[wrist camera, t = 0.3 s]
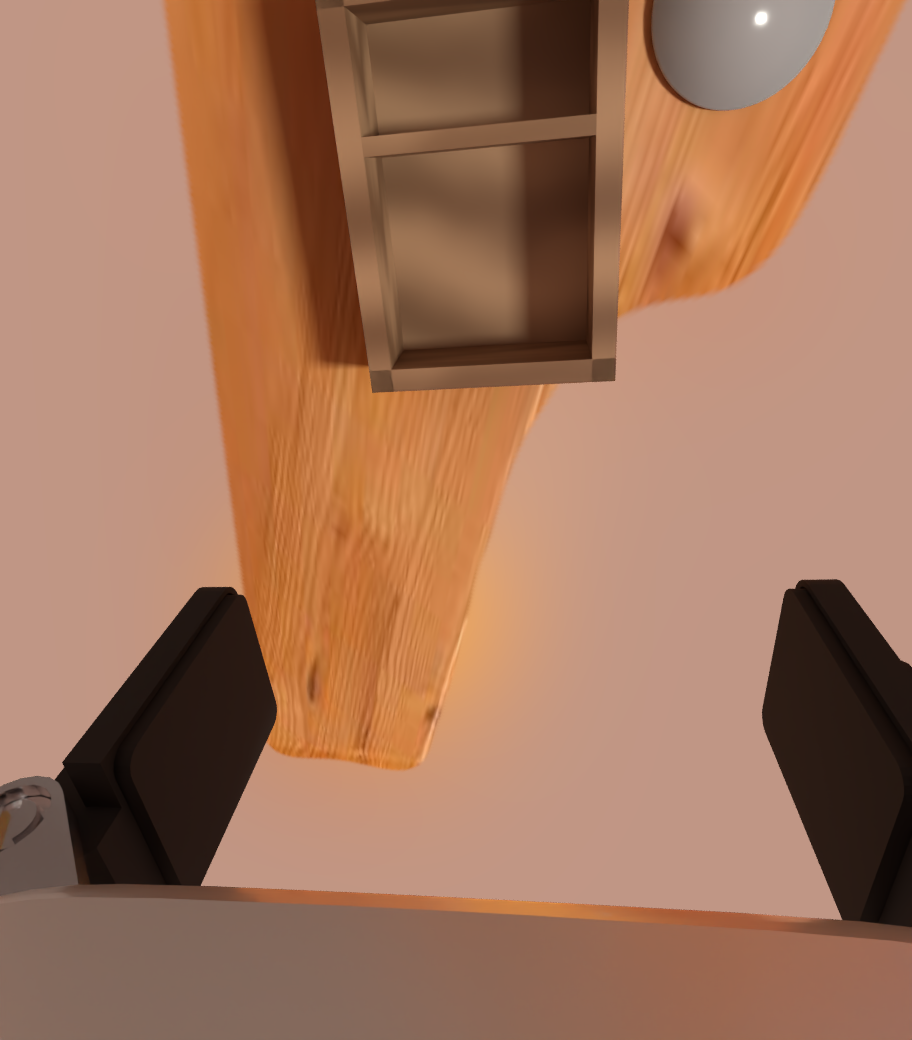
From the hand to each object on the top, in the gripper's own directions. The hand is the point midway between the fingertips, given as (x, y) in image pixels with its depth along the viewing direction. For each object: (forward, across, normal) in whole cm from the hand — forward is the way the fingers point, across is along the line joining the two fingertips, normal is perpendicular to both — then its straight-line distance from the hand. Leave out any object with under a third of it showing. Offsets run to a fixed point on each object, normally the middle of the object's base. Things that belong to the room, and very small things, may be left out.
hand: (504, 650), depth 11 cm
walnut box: (+30, +2, -6) cm, 31 cm away
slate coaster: (+30, -10, -13) cm, 35 cm away
